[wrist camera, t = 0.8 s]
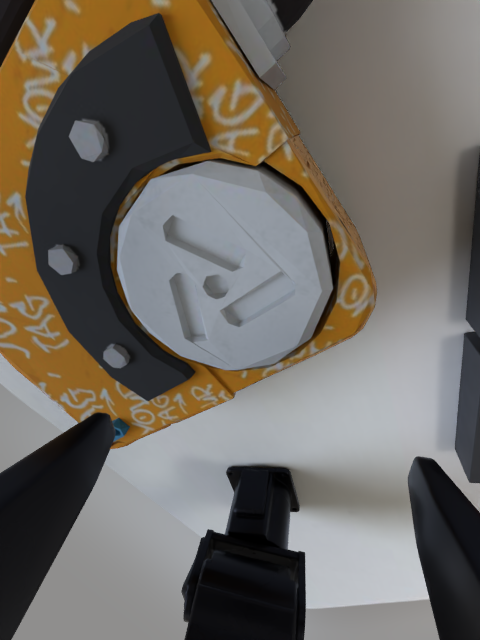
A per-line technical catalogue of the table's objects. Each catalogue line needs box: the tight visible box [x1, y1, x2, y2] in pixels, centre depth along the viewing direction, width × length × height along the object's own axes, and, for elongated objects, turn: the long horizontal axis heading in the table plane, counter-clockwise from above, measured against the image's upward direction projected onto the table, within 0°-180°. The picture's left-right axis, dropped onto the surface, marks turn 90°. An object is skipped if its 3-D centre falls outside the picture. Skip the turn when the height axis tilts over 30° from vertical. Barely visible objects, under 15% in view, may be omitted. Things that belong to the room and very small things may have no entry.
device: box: [0, 0, 377, 449], centre depth 17 cm, size 23×8×30 cm
